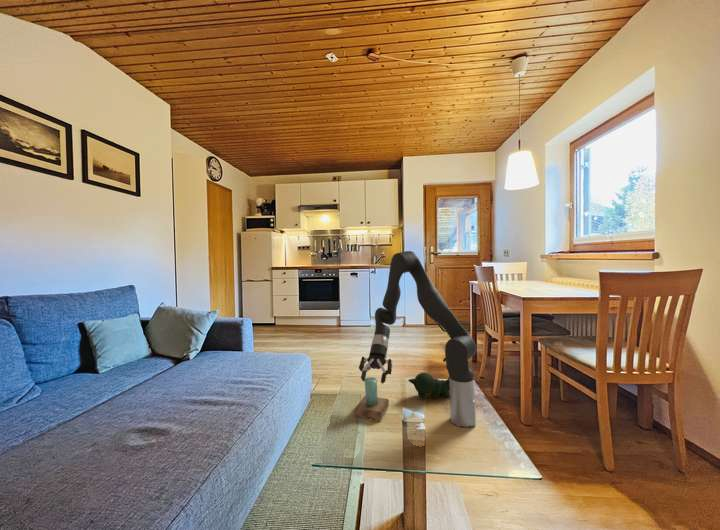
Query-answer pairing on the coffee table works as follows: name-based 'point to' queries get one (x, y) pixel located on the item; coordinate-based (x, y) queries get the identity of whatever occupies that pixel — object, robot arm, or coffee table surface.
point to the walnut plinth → (372, 409)
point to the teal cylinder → (371, 391)
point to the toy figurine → (430, 385)
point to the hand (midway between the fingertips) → (372, 381)
